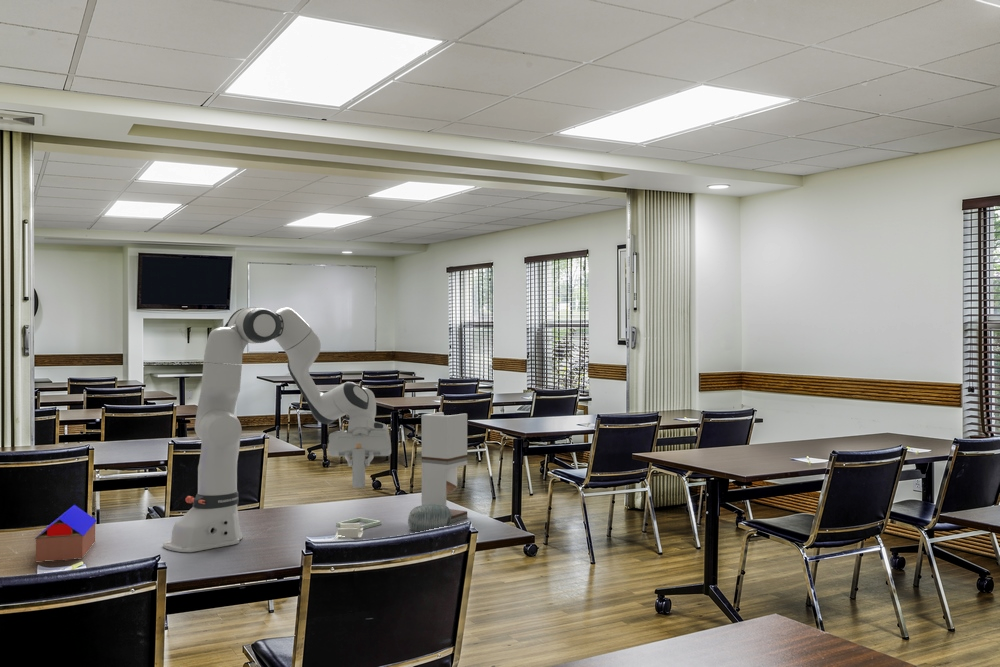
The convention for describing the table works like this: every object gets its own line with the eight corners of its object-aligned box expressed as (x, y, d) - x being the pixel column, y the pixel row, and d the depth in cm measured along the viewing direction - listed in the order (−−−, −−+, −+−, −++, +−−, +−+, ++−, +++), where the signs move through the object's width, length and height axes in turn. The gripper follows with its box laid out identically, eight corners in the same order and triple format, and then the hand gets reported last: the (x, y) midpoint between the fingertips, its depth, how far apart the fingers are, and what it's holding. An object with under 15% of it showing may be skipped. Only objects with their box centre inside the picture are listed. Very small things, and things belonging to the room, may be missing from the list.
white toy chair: (334, 540, 240) (334, 529, 240) (338, 531, 251) (338, 520, 251) (361, 540, 240) (361, 528, 240) (364, 531, 252) (364, 520, 252)
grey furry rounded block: (447, 514, 260) (444, 491, 255) (456, 533, 252) (452, 510, 247) (407, 527, 256) (402, 503, 251) (414, 547, 249) (410, 523, 244)
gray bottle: (358, 488, 254) (358, 444, 254) (349, 486, 256) (349, 444, 256) (367, 486, 257) (367, 443, 257) (358, 484, 259) (358, 442, 259)
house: (96, 542, 239) (96, 503, 239) (83, 560, 220) (83, 517, 220) (51, 545, 235) (51, 505, 235) (34, 563, 216) (34, 520, 216)
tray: (358, 532, 249) (358, 526, 249) (336, 528, 255) (336, 522, 255) (381, 526, 257) (381, 521, 257) (358, 522, 263) (358, 517, 263)
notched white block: (447, 524, 261) (447, 416, 261) (421, 520, 267) (421, 414, 267) (467, 517, 271) (467, 413, 271) (441, 513, 276) (441, 412, 277)
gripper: (328, 425, 263) (324, 459, 253) (391, 424, 264) (389, 458, 254) (330, 437, 267) (326, 471, 257) (392, 436, 269) (390, 470, 259)
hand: (358, 465), depth 256 cm, fingers closed on gray bottle, 4 cm apart
